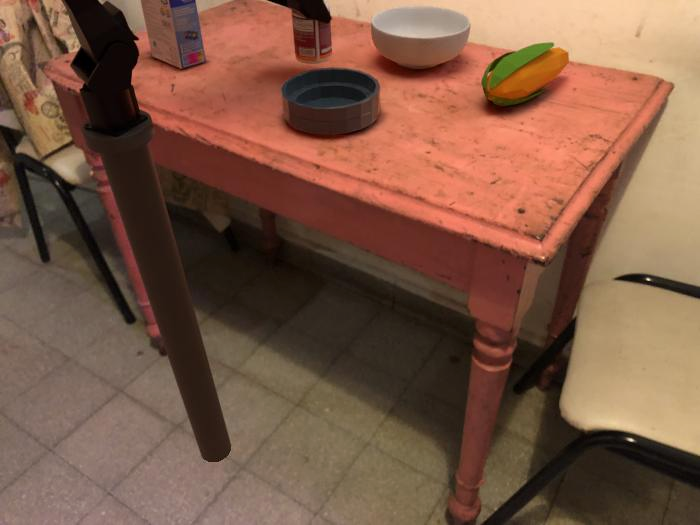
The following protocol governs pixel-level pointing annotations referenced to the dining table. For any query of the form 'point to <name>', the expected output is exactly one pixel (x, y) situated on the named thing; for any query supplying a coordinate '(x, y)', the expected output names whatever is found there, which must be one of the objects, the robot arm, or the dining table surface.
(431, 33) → the cereal bowl
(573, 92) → the dining table surface
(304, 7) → the robot arm
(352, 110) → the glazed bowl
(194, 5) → the ink cartridge box
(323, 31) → the pill bottle
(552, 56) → the corn
